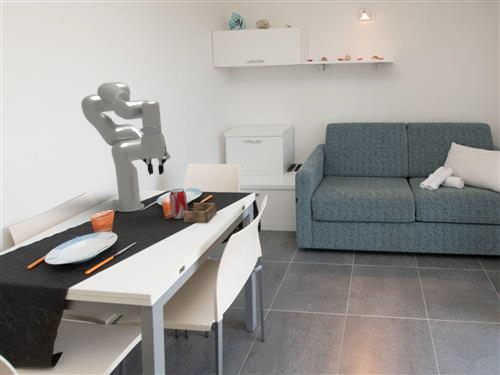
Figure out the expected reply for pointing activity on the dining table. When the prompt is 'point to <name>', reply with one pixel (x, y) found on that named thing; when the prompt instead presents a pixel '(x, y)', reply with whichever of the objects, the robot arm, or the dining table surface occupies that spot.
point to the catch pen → (200, 213)
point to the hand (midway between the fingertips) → (156, 173)
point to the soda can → (178, 203)
